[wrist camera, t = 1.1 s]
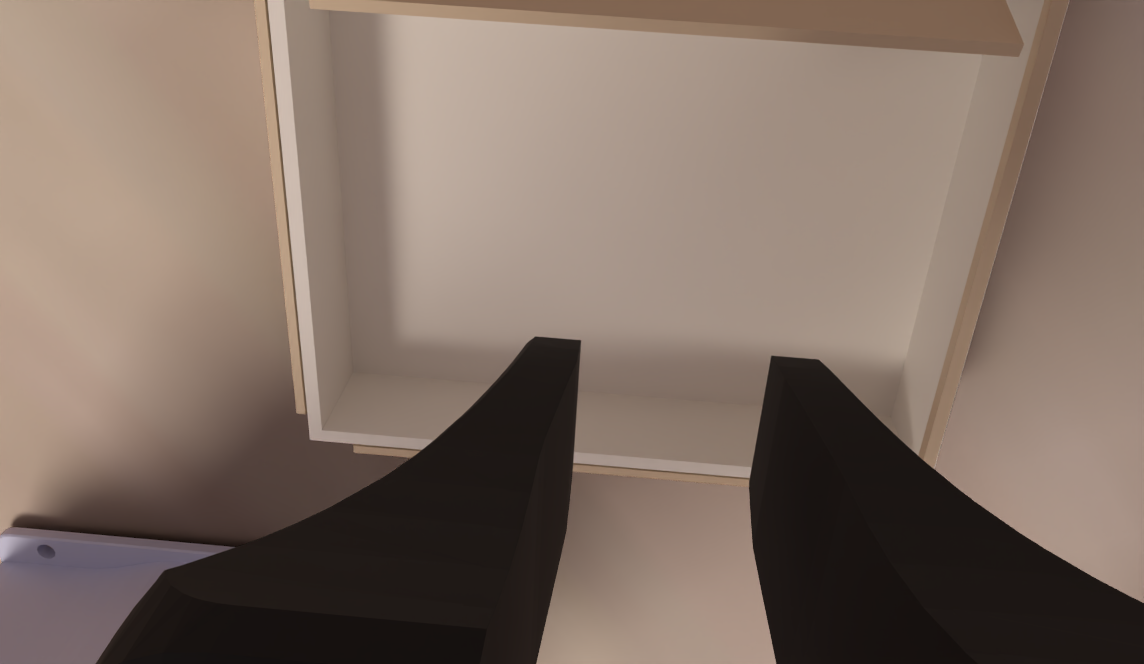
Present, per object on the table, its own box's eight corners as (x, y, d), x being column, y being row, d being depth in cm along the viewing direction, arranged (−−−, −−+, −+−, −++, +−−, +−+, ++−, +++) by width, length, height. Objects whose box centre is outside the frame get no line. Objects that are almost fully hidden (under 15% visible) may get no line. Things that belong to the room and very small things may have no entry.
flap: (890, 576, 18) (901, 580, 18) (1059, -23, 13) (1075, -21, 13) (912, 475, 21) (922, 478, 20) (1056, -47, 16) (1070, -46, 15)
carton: (337, 380, 25) (299, 448, 22) (297, -151, 19) (238, -146, 16) (894, 427, 24) (925, 502, 21) (1032, -106, 18) (1096, -94, 15)
